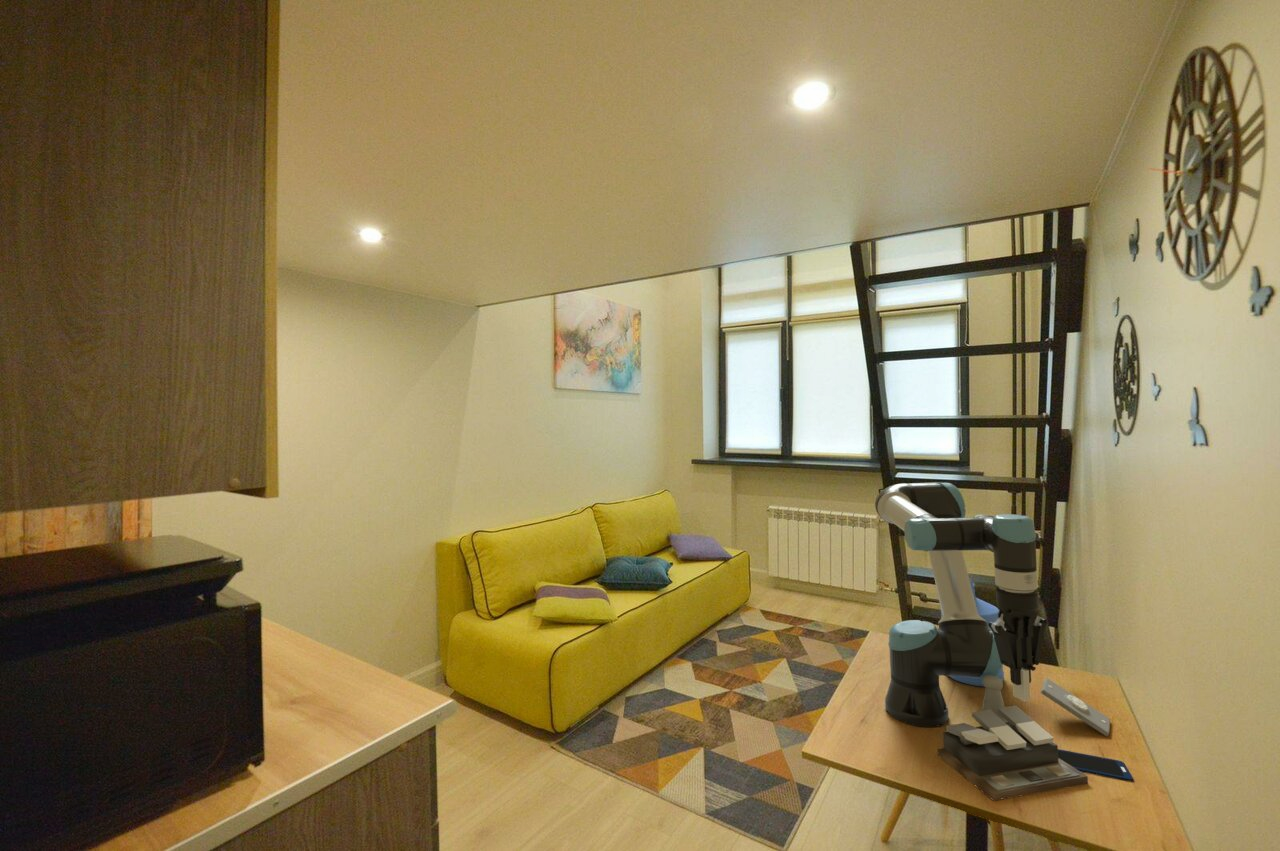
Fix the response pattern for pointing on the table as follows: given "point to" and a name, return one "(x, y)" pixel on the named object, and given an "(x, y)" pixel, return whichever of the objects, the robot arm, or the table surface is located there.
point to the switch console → (1010, 767)
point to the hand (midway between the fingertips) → (1021, 698)
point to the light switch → (1076, 707)
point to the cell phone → (1096, 765)
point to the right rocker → (1025, 725)
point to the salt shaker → (993, 694)
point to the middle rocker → (999, 729)
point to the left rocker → (971, 734)
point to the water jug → (989, 615)
